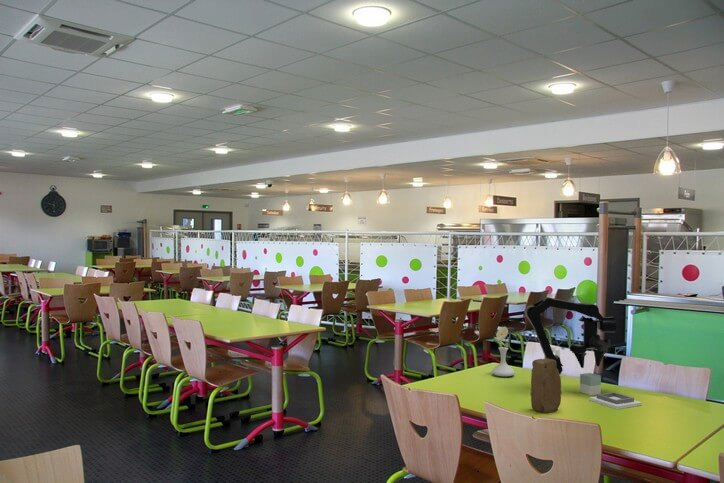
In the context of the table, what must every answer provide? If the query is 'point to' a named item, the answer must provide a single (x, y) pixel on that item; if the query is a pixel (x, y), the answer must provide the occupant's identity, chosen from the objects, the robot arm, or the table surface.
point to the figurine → (556, 351)
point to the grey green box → (590, 383)
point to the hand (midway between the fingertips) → (590, 367)
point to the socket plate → (615, 400)
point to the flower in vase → (503, 356)
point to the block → (545, 386)
